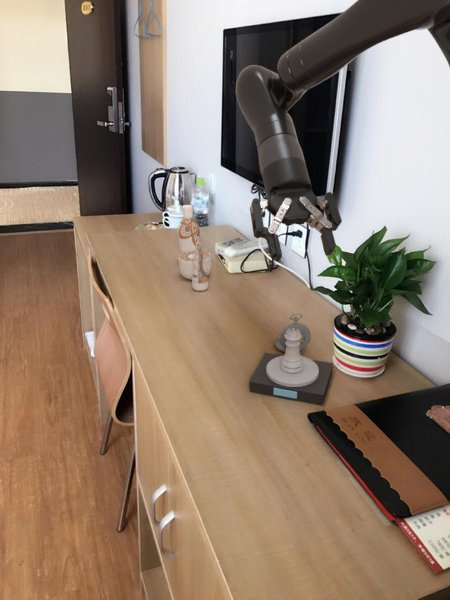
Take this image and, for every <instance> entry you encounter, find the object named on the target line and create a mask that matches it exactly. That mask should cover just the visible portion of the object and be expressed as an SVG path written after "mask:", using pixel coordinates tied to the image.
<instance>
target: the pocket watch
mask: <svg viewBox="0 0 450 600" xmlns="http://www.w3.org/2000/svg"><path fill="white" fill-rule="evenodd" d="M293 316H294V317H293ZM298 316H300V317H298ZM292 317H293V318H292ZM302 318H303V314H301V313H293V314H291V315H290V316H289V319H290V320H292V321H293V323H290V324H287V325H286V326H285V327H284V328H283V329H282V330H281V332H280V334H279V336H278V338H276V339H275V341H274V347H275V348H276V349H277V350H279V351H281V352H282V353H285V352H286V344H285V342H286V341H287V340H286V338H285V337H284V335H285V334H286V331H288V329H291V331H292V328H295V331H296V330H297V329H298V330H299V331H300V334H301V335H302V338H301V339H300V340H299V342H300V345H299V351H300V352H302V351H303V350H304V349H306V348H307V347H308V346H309V344H310V342H311V339H312V334H311V330H310V327H308V326H307V325H306V324H304V323H302V322H298V321H299V320H300V319H302Z"/></svg>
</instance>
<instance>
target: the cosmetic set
mask: <svg viewBox="0 0 450 600" xmlns="http://www.w3.org/2000/svg"><path fill="white" fill-rule="evenodd" d="M182 215H183V217H182V219H181V221H180V222H179V225H178V230H177V237H178V249H179V255H178V268H179V273H180V274H181V276H182V277H184V278H185V279H187V280H190V281H191V286H192V289H193V290H194V291H197V292H202V291H203V292H204V291H206V290H208V288H209V277H208V276H209V275H210V273H211V270H212V257H211V254H210V253H209V252H207V251H203V249H202V246H201V230H200V226H199V224H198V222H197V220H196V219H195V217H194V215H193V205H191V204H183V205H182Z"/></svg>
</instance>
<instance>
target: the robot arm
mask: <svg viewBox="0 0 450 600" xmlns="http://www.w3.org/2000/svg"><path fill="white" fill-rule="evenodd" d="M424 30H427V31H428V32H429V34H430V35H431V36H432V38H433V39H434V41H435V43H436V44H437V46H438V48H439V49H440V51H441V53H442V54H443V56H444V58H445V60H446V62H447V65H448V67H449V68H450V0H356V1H355V2H354V3H353V4H352V5H350V6H349V7H348V8H347V9H346V10H344V11H343V12H342V13H340V14H339V15H338V16H336V17H335V18H334V19H332V20H331V21H330V22H328V23H326V24H325V25H323V26H322V27H320V28H319V29H317V30H316V31H314V32H313V33H311V34H310V35H308V36H307V37H306V38H304V39H302V40H301V41H300V42H298V43H297V44H295V45H294V46H292V47H291V48H290V49H288V50H287V51H285V53H283V54H282V55H281V56H280V58H279V59H278V62H277V70H276V71H277V72H274V71H272V70H270V69H268V68H266V67H264V66H261V65H258V64H251V65H248V66H245V68H243V69H242V70H241V72H240V73H239V75H238V77H237V78H236V83H235V97H236V101H237V105H238V106H239V109H240V111H241V113H242V114H243V116H244V118H245V120H246V123H247V124H248V127H250V130H251V131H252V132H253V135H254V140H255V145H256V150H257V154H258V165H259V172H260V174H261V178H262V182H263V187H264V190H265V191H264V192H265V194H266V195H265V197H266V199H267V200H260V199H259V198H257V197H255V198H253V199H252V201H251V204H250V207H249V212H250V220H251V226H252V234H253V237H254V238H255V239H261V238H262V239H264V240H266V244H267V248H268V254H269V256H270V257H271V259H272V258H273V259H274V261H275V262H277V261H281V259H282V257H283V252H282V248H281V243H280V239H279V235H278V233H277V231H278V230H279V228H280V226H281V224H283V225H285V226H286V227H288V226H293V225H305V223H306V224H307V225H308V226H309V227H310V228H312V229H315V230H316V231H317V232H318V233H320V240H321V245H322V247H323V251H324V255H325V256H331V255H332V254H333V252H334V251H335V249H336V246H337V244H336V240H335V236H334V233H333V232H335V231H337V229H339V226H340V225H341V224H342V222H343V220H342V217H341V214H340V211H339V208H338V206H337V203H336V200H335V197H334V194H333V193H332V192H330V191H327V192H326V193H325V195H319V196H316V195H315V194H314V192H313V188H312V183H311V179H310V176H309V171H308V168H307V164H306V160H305V157H304V152H303V149H302V147H301V145H300V142H299V139H298V136H297V132H296V128H295V124H294V121H293V118H292V116H291V115H290V114H289V113H288V111H289V110H290V109H291V108H292V107H293V106H294V105H295V104H296V103H297V102H298V101H299V100H300V99H301V98H302V97H303V95H304V94H305V93H306V92H307V91H309V90H311V89H312V88H314V87H316V86H317V85H319V84H321V83H323V82H324V81H326V80H328V79H330V78H331V77H333V76H334V75H336V74H337V73H339V72H340V71H341V70H343V69H344V68H345V67H346V66H348V65H349V64H350V63H351V62H352V61H353V60H354V59H356V58H357V57H358V56H360V55H361V54H363V53H365V52H366V51H368V50H369V49H371V48H373V47H374V46H377V45H379V44H381V43H383V42H386V41H388V40H390V39H393V38H395V37H398V36H401V35H404V34H407V33H410V32H413V31H424ZM317 205H318V206H319V207H320V209H318V208H317V207H316V206H317ZM265 210H267V212H269V213H270V214H271V215H272V216H273V217H274V218H273V220H272V221H271V223H270V225H269V227H266V226H265V225H264V220H263V219H264V218H263V215H264V214H265ZM322 211H323V212H324V214H323V212H322Z"/></svg>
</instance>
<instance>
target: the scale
mask: <svg viewBox="0 0 450 600" xmlns="http://www.w3.org/2000/svg"><path fill="white" fill-rule="evenodd" d="M284 355H285V354H278V353H272V352H264V354H263V356H262V357H261V359H260V361H259V363H258V364H257V367H256V368H255V370H254V372H253V374H252V376H251V377H250V379H249V381H248V389H249V390H248V392H249V393H253V394H259V395H264V396H270V397H275V398H280V399H286V400H290V401H291V400H292V401H296V402H297V401H298V402H302V403H307V404H313V405H317V406H324V403H325V400H326V398H327V394H328V390H329V387H330V385H331V380H332V376H333V373H334V363H333V362H328V361H323V360H316V359H310V358H308V357H305V356H302V355H301V358H302V359H303V361H304V362H303V365H304V368H303V369H302V370H301V371H300V372H298V373H294V374H293V373H287V372H285V371H284V370H283V369H282V368H281V359H282V358H283V356H284Z"/></svg>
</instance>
